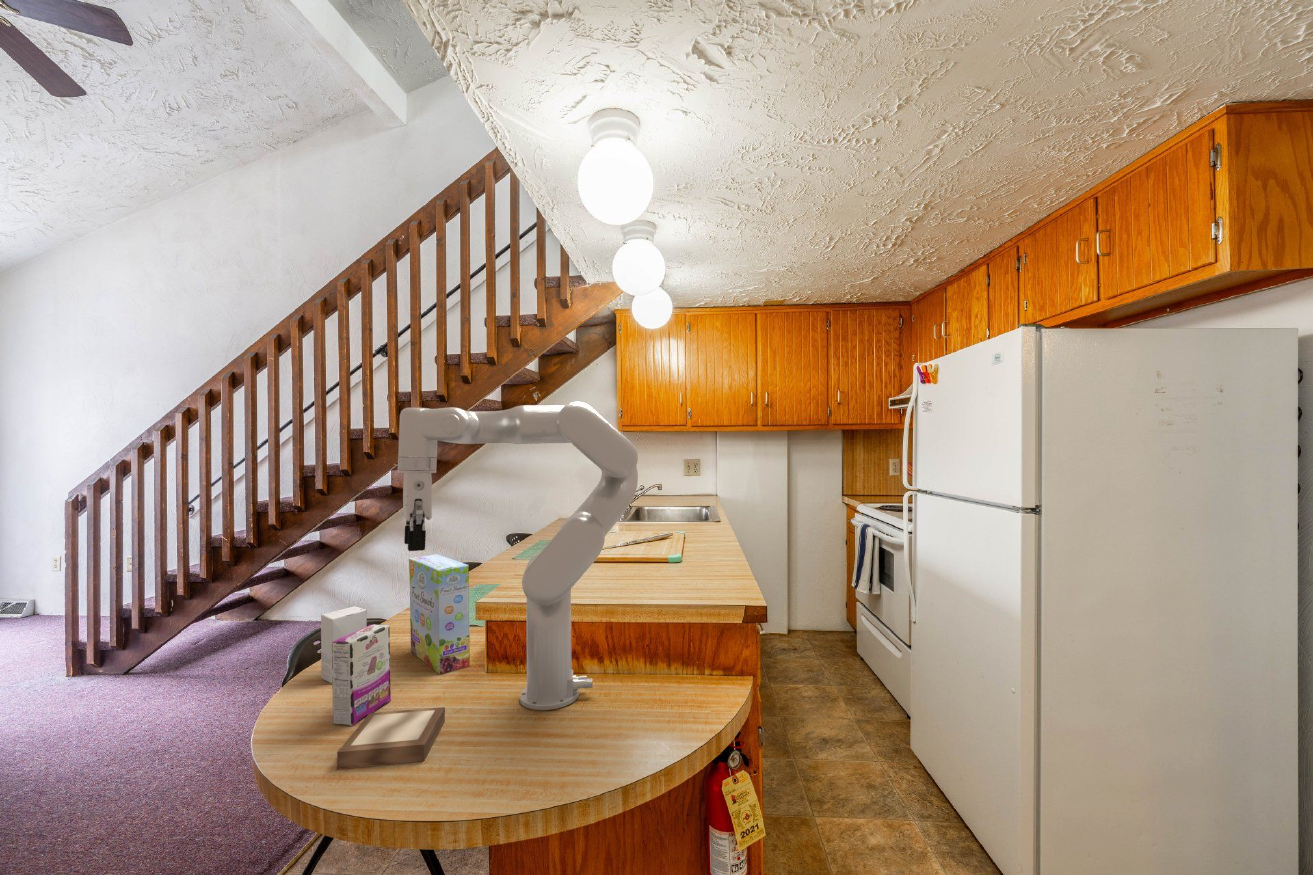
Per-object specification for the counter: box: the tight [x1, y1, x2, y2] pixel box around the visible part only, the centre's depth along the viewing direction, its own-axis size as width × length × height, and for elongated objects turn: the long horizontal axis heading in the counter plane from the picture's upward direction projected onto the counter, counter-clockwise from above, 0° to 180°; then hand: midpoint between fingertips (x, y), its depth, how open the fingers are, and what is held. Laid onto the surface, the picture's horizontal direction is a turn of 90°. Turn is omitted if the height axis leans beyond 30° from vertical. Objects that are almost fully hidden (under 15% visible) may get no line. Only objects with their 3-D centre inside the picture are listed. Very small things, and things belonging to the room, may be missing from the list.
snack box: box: [408, 553, 471, 675], centre depth 139 cm, size 22×9×26 cm, turn 43°
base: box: [336, 706, 446, 770], centre depth 98 cm, size 14×14×3 cm
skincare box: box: [320, 605, 368, 685], centre depth 129 cm, size 8×7×16 cm
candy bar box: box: [332, 623, 392, 727], centre depth 110 cm, size 11×5×16 cm, turn 168°
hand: (414, 546), depth 113 cm, fingers open, 9 cm apart
